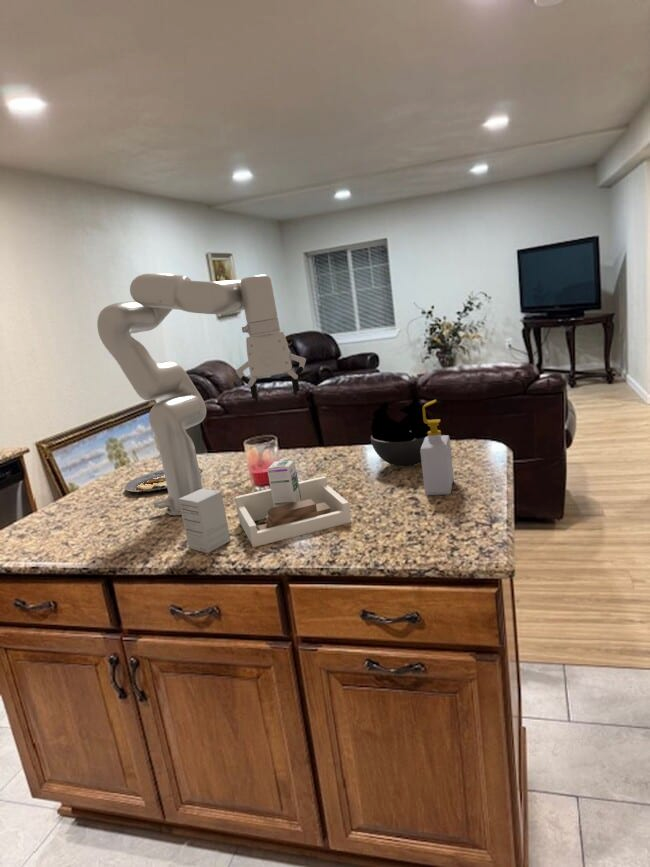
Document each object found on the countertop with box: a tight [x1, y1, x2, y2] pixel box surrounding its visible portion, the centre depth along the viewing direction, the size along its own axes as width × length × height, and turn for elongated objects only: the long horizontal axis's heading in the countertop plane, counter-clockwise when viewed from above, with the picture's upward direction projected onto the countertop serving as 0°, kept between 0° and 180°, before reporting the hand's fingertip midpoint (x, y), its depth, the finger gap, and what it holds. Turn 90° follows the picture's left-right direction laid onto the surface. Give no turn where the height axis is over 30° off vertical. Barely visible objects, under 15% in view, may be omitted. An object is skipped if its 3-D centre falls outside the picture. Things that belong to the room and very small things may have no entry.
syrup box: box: [266, 459, 301, 507], centre depth 150 cm, size 6×6×14 cm
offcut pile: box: [257, 499, 333, 531], centre depth 144 cm, size 18×6×6 cm, turn 108°
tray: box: [234, 476, 352, 548], centre depth 148 cm, size 24×18×7 cm
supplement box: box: [178, 488, 232, 554], centre depth 140 cm, size 7×7×13 cm
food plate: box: [124, 467, 203, 493], centre depth 200 cm, size 25×23×4 cm
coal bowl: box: [370, 402, 432, 468], centre depth 179 cm, size 20×20×19 cm
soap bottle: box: [420, 399, 454, 496], centre depth 155 cm, size 12×7×23 cm, turn 165°
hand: (276, 397), depth 148 cm, fingers open, 9 cm apart
